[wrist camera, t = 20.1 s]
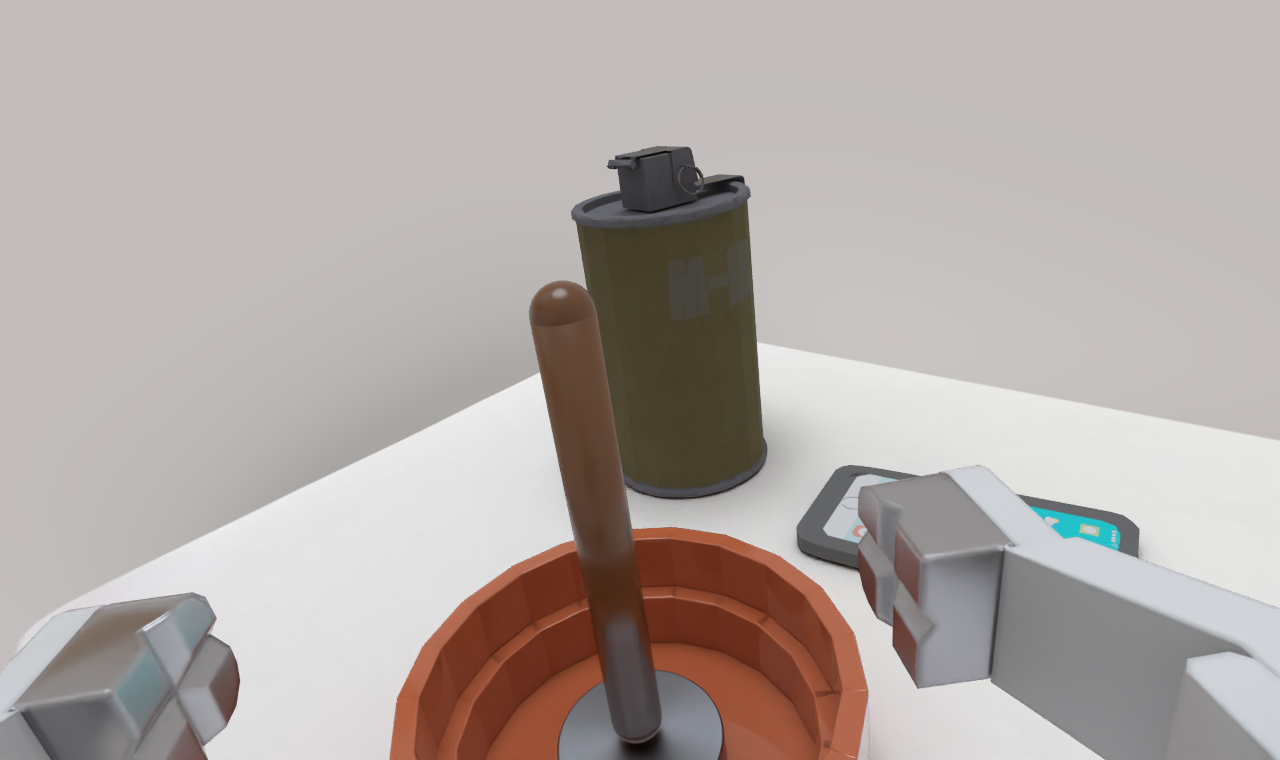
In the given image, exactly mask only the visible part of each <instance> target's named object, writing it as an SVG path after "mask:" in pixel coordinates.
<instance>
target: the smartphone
mask: <svg viewBox="0 0 1280 760" xmlns="http://www.w3.org/2000/svg"><path fill="white" fill-rule="evenodd" d="M914 477H920V476H917V475H912V474H907V473H901V472H895V471H889V470H884V469H878V468H871V467H864V466H854V465H848V466H843V467H841V468H839V469H836V471H835V472H834V473H833V475H832V476H831V478H830V479H829V481H828V482H827V484H826V485H825V486H824V488H823V489H822V491H821V492H820V494H819V495H818V497H817V498H816V499H815V501H814V502H813V504H812V505H811V507H810V508H809V510H808V511H807V512H806V514H805V515H804V517H803V518H802V520H801V521H800V522H799V524H798V525H797V541H798V545H799V547H800V548H801V550H802V551H804V552H806V553H808V554H810V555H813V556H816V557H819V558H822V559H826V560H830V561H833V562H837V563H841V564H844V565H848V566H852V567H856V568H859V567H858V543H859V542H860V540H861V539H862V537H863V536H864V535H865V533H866V532H867V529H866V527H865V525H864V524H863V522H862V521H861V519H860V518H859V516H858V496H859V492H860V488H861V487H862V486H868V485H874V484H879V483H885V482H891V481H897V480H902V479H908V478H914ZM1016 495H1017V496H1018V497H1020V498H1021V499H1022V500H1023V501H1024V502H1025V503H1026V504H1027V505H1028V506H1029V507H1030V508H1031V509H1033V510H1034V511H1035V512H1036V513H1037V514H1038V515H1039V516H1040V517H1041V518H1042V519H1043V520H1044V521H1046V522H1047V523H1048V524H1049V525H1050V526H1051V527H1052V528H1053V529H1054V530H1055V531H1056V532H1057V533H1059V534H1060V535H1061V536H1062V537H1063V538H1064V539H1065V538H1072V537H1079V538H1082V539H1085V540H1088V541H1091V542H1094V543H1096V544H1099V545H1102V546H1105V547H1108V548H1110V549H1113V550H1116V551H1119V552H1122V553H1125V554H1127V555H1130V556H1133V557H1136V558H1138V545H1139V528H1138V527H1137V526H1136V525H1135V524H1134V523H1133V522H1132V521H1131V520H1129V519H1128V518H1126V517H1125V516H1123V515H1120V514H1116V513H1113V512H1108V511H1103V510H1098V509H1092V508H1087V507H1082V506H1076V505H1071V504H1066V503H1060V502H1055V501H1050V500H1045V499H1039V498H1034V497H1029V496H1023V495H1018V494H1016Z"/></svg>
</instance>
